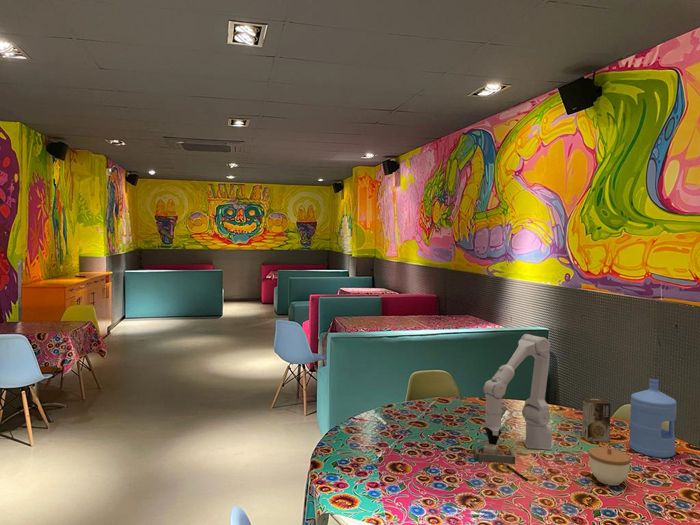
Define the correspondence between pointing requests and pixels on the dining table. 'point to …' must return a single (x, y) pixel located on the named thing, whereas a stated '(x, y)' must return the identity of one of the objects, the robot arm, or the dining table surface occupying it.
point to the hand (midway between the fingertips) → (492, 447)
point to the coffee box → (596, 420)
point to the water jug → (652, 422)
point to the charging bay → (495, 457)
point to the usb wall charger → (492, 449)
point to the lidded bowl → (609, 465)
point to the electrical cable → (517, 473)
